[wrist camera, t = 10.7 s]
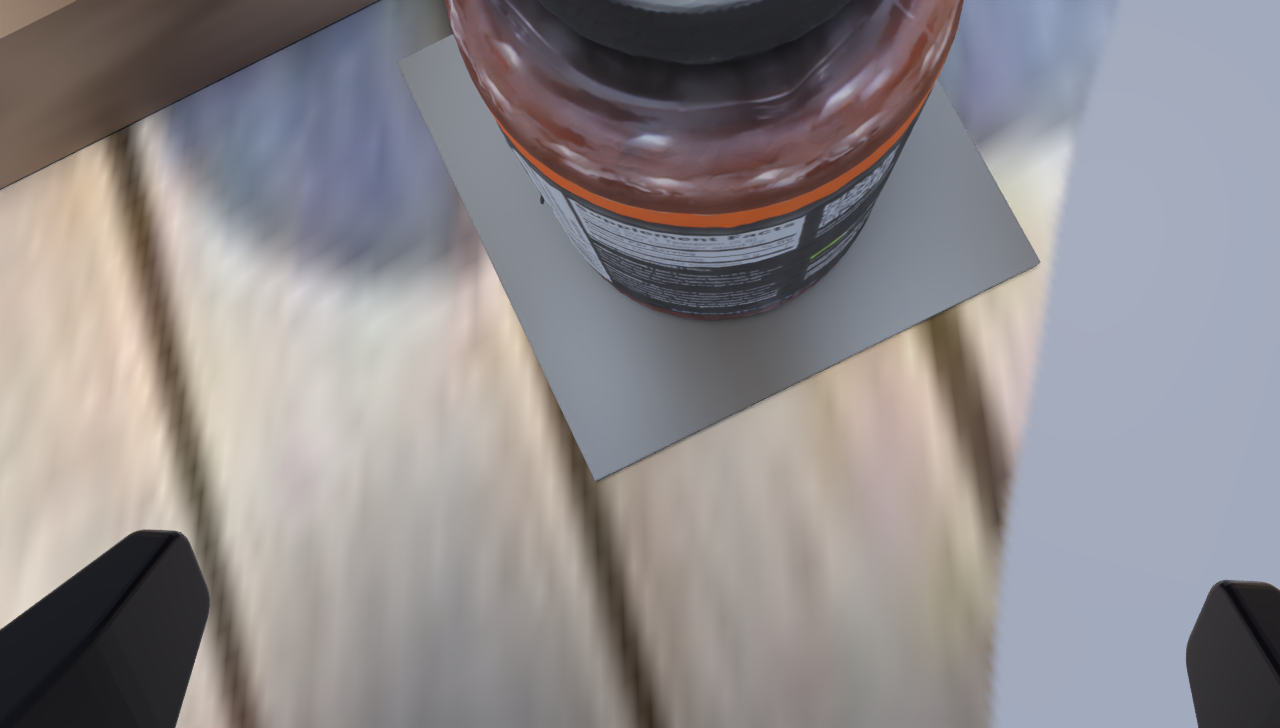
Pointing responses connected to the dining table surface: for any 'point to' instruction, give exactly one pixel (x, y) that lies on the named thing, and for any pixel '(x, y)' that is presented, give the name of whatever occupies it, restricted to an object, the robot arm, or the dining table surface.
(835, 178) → the supplement bottle
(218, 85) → the dining table surface
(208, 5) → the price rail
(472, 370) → the dining table surface
